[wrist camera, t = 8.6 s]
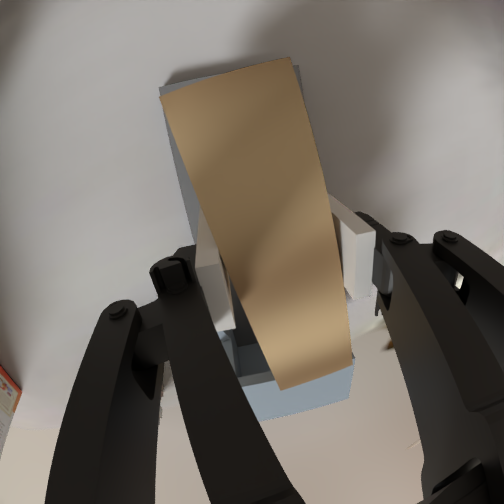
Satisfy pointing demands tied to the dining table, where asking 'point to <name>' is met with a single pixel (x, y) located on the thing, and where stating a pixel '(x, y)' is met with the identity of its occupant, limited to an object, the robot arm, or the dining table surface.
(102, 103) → the dining table surface
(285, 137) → the oak slat
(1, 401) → the cracker box
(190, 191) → the board
